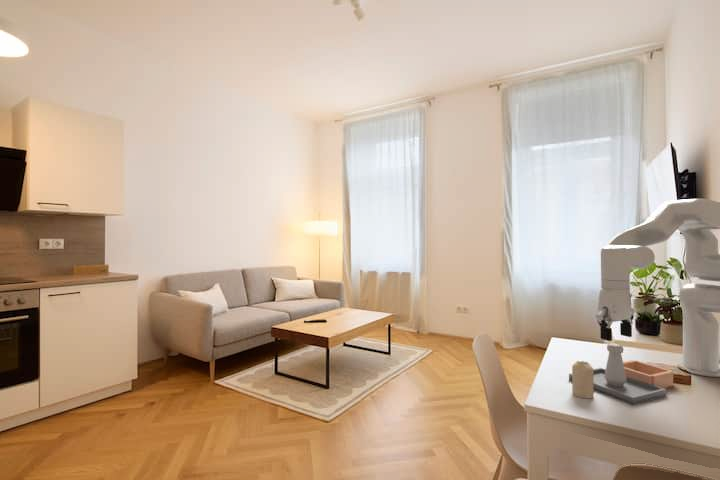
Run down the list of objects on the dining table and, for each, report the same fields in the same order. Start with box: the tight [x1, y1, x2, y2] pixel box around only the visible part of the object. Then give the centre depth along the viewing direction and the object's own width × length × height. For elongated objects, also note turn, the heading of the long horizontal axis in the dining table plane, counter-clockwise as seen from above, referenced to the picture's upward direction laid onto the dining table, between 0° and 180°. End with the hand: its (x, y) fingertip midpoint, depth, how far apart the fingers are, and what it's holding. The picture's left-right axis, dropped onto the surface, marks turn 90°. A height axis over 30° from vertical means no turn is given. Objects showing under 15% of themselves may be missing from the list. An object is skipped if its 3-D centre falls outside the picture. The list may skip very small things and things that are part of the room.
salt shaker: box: [604, 343, 626, 387], centre depth 115 cm, size 6×6×13 cm
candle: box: [571, 360, 595, 400], centre depth 110 cm, size 6×6×10 cm
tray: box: [568, 367, 667, 406], centre depth 115 cm, size 16×20×2 cm
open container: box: [623, 359, 674, 389], centre depth 121 cm, size 12×12×4 cm
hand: (616, 337), depth 116 cm, fingers open, 9 cm apart
